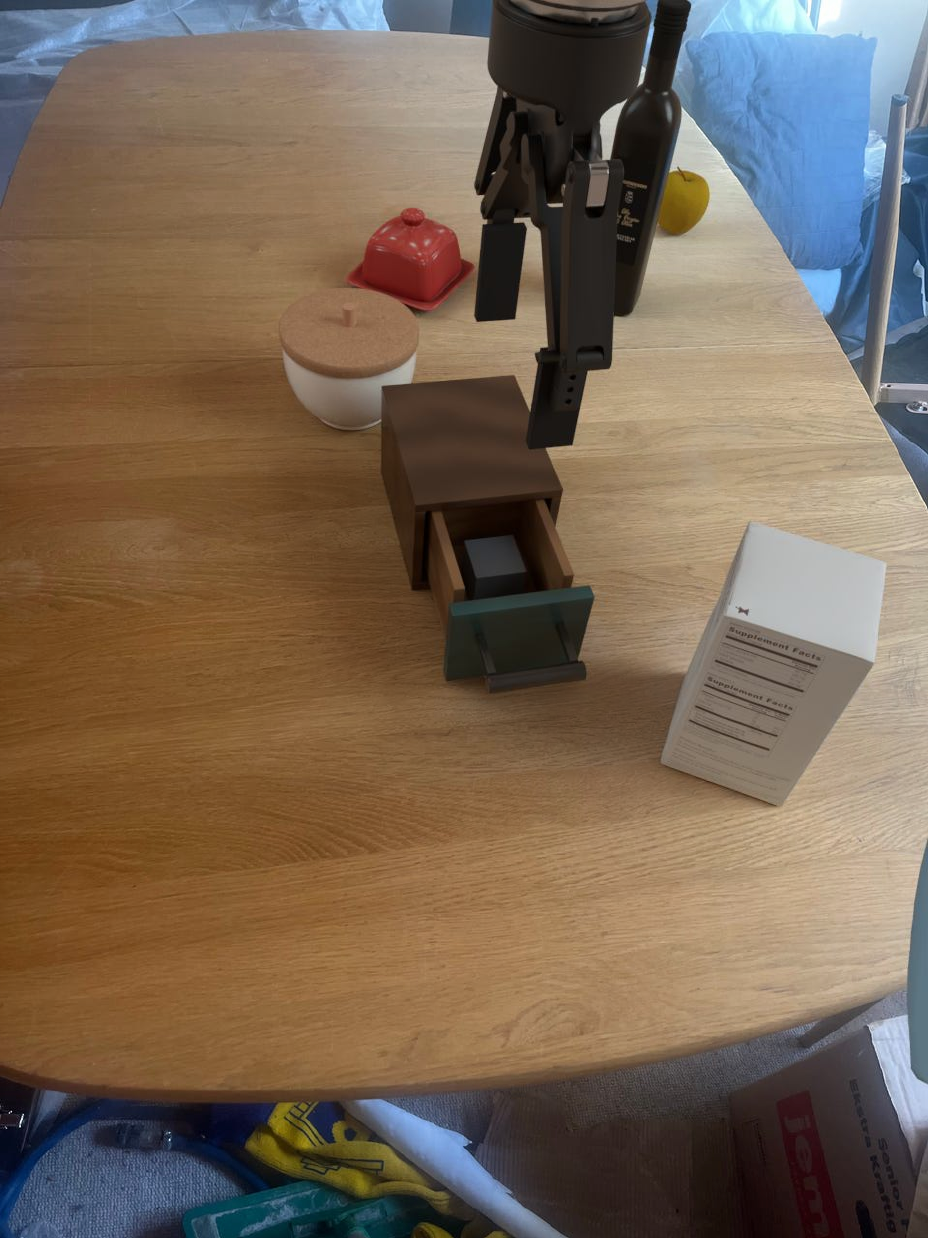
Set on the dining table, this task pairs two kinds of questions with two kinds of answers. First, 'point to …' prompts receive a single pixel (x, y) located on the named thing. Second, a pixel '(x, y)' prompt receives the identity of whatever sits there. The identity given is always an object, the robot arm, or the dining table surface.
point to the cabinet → (457, 455)
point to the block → (492, 568)
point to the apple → (683, 201)
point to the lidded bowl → (347, 353)
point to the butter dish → (412, 261)
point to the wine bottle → (647, 152)
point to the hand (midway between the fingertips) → (520, 376)
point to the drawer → (507, 600)
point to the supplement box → (776, 662)
